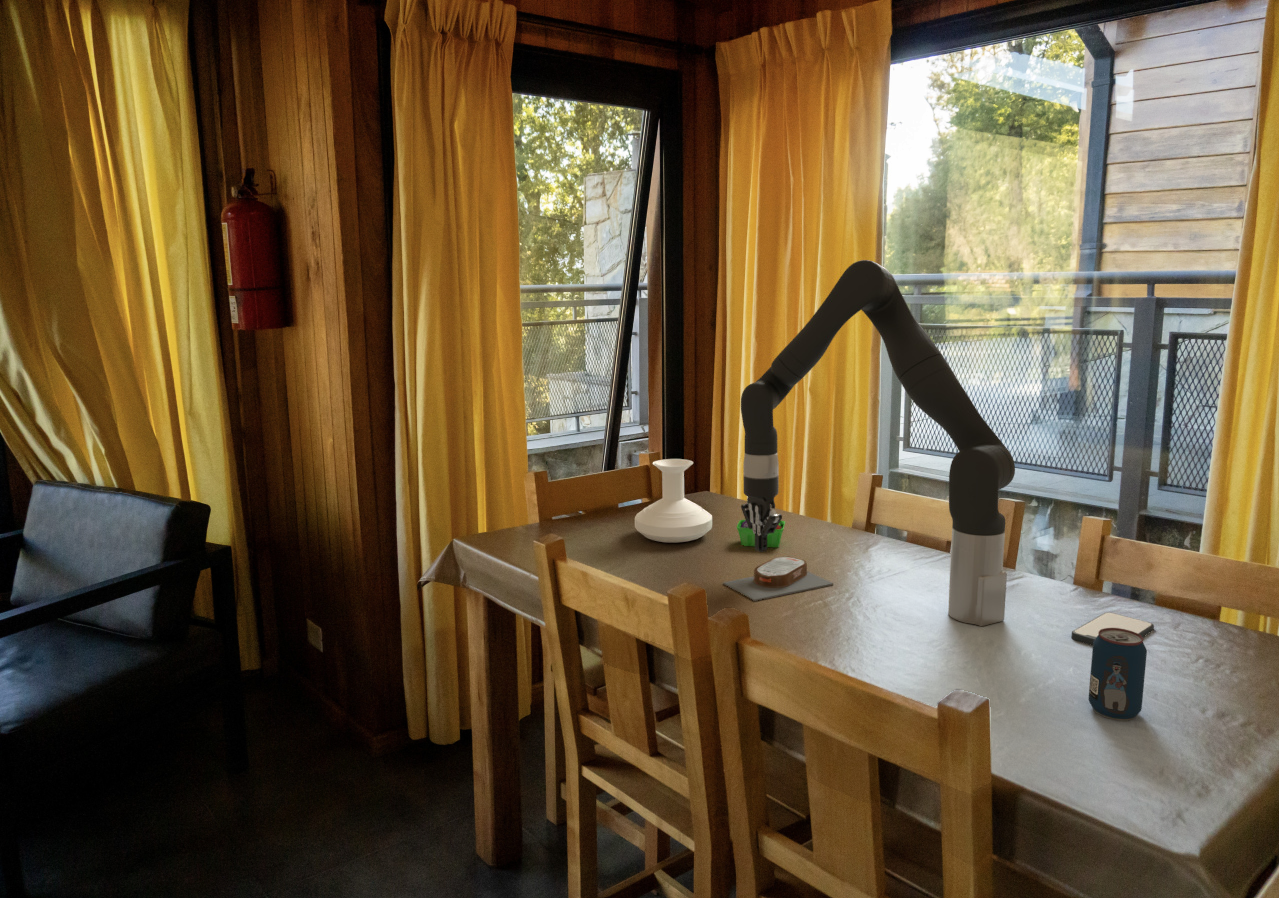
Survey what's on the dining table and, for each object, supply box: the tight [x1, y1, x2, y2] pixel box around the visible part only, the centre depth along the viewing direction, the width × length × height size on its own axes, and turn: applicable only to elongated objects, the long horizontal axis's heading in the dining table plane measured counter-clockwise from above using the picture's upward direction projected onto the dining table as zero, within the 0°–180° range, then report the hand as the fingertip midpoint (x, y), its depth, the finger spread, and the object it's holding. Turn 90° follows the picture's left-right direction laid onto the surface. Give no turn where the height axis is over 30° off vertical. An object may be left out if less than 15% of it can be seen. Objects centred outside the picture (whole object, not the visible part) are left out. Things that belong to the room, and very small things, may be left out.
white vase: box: [634, 458, 713, 543], centre depth 222 cm, size 20×20×19 cm
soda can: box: [1088, 628, 1148, 722], centre depth 128 cm, size 7×7×12 cm
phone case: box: [1070, 612, 1155, 646], centre depth 158 cm, size 9×2×16 cm
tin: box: [753, 555, 808, 588], centre depth 190 cm, size 15×3×8 cm
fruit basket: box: [736, 519, 786, 548], centre depth 215 cm, size 11×9×11 cm
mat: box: [722, 570, 834, 602], centre depth 186 cm, size 12×20×1 cm, turn 116°
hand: (761, 550), depth 191 cm, fingers closed
